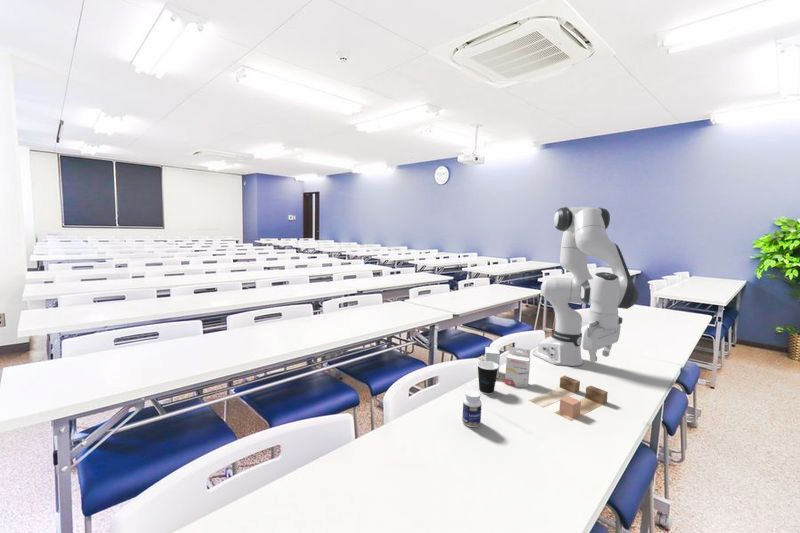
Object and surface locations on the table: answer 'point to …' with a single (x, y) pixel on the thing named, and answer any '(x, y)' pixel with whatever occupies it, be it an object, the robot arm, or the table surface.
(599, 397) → the oak strip
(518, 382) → the ink cartridge box
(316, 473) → the table surface
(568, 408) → the terracotta cube
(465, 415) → the pill bottle
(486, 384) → the dixie cup
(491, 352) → the small box
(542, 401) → the pale ash strip
